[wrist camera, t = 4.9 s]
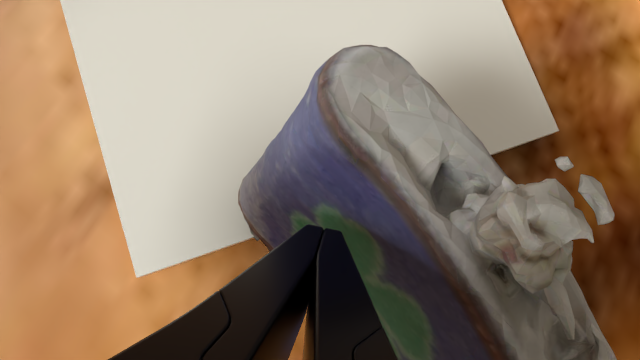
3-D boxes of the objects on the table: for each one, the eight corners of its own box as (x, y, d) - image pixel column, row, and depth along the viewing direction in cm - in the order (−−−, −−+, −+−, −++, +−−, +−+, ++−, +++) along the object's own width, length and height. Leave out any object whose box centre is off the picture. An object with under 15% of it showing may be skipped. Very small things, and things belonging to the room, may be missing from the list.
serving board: (553, 133, 19) (559, 130, 19) (141, 277, 19) (136, 277, 19) (439, -128, 21) (441, -136, 21) (64, 0, 21) (58, -6, 21)
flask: (221, 191, 18) (338, -2, 7) (287, 153, 19) (464, -54, 9) (368, 417, 17) (718, 558, 7) (424, 361, 18) (786, 406, 8)
